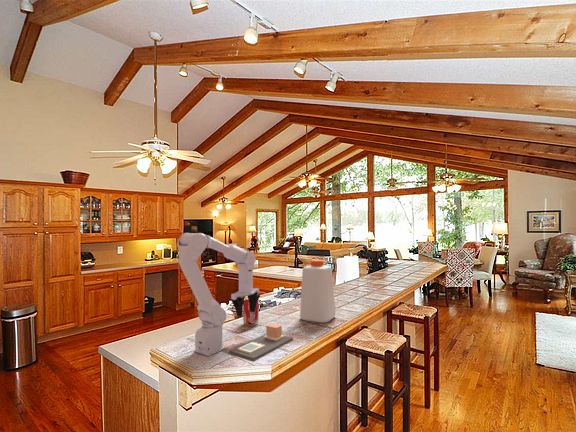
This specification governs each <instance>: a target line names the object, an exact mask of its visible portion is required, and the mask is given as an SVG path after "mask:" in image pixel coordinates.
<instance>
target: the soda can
mask: <svg viewBox="0 0 576 432" xmlns="http://www.w3.org/2000/svg"><path fill="white" fill-rule="evenodd" d="M244 300H245V301H244V304H243V311H242V319H243V324H244V325H245V326H247V327H252V326H257V324H258V323H259V318H260V317H259V315H260V311H259V300H258V301H257V304H256V308H255V312H250V309H249V300H248V296H245V297H244Z"/></svg>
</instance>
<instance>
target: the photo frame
mask: <svg viewBox="0 0 576 432" xmlns="http://www.w3.org/2000/svg"><path fill="white" fill-rule="evenodd" d="M263 347H265V345H264V344H260V343H256V342H251V343H249V344H246V345H244V346H242V347H240V348H238V350H239V351H242V352H246V353H249V354H251V353H253V352H255V351H257V350H259V349H261V348H263Z"/></svg>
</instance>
